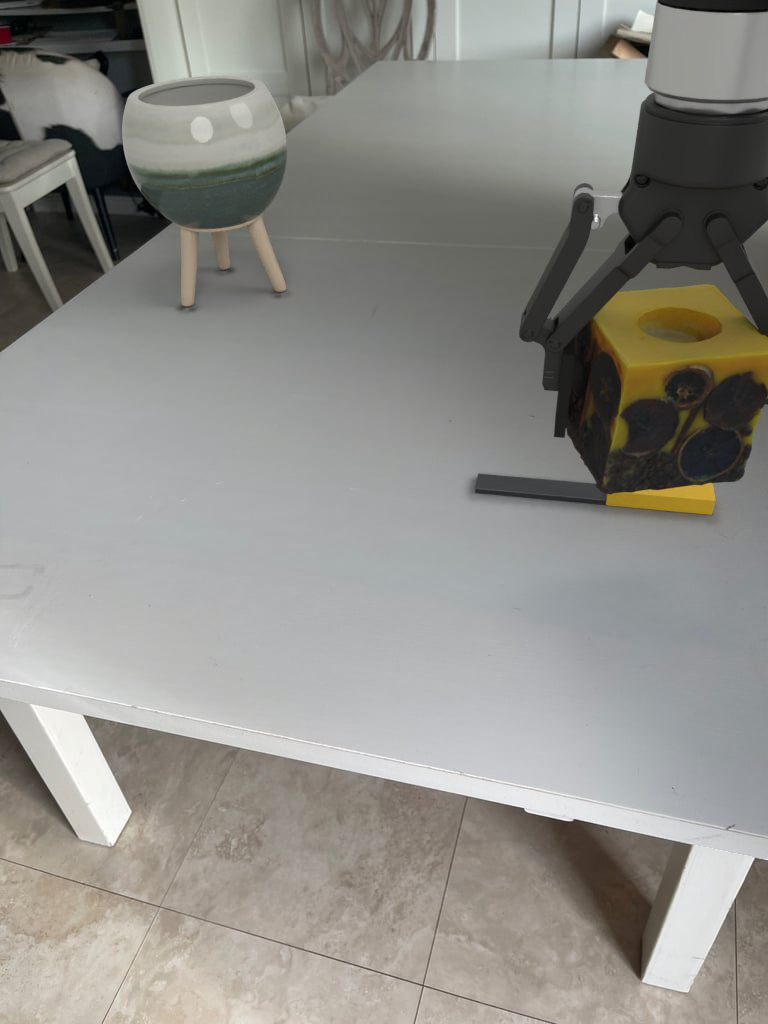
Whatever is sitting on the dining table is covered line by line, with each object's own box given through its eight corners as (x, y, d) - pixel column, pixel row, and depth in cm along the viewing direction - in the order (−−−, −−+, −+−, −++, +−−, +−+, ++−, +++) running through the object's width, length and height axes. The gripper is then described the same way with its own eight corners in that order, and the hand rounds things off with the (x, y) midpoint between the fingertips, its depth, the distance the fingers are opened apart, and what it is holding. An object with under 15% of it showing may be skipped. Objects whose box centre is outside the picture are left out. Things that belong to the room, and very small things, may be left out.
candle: (555, 416, 61) (569, 293, 55) (684, 403, 62) (712, 279, 55) (598, 499, 53) (620, 366, 47) (745, 483, 54) (786, 350, 48)
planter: (217, 252, 136) (184, 68, 119) (329, 271, 128) (311, 76, 110) (128, 305, 122) (75, 104, 104) (248, 331, 113) (212, 117, 95)
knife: (709, 497, 80) (712, 483, 79) (711, 515, 78) (715, 500, 77) (478, 477, 84) (478, 463, 83) (474, 493, 82) (475, 479, 81)
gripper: (940, 77, 44) (818, 416, 58) (497, 78, 48) (484, 394, 62) (990, 114, 38) (842, 480, 52) (484, 112, 42) (473, 450, 56)
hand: (647, 433), depth 57 cm, fingers closed on candle, 11 cm apart
